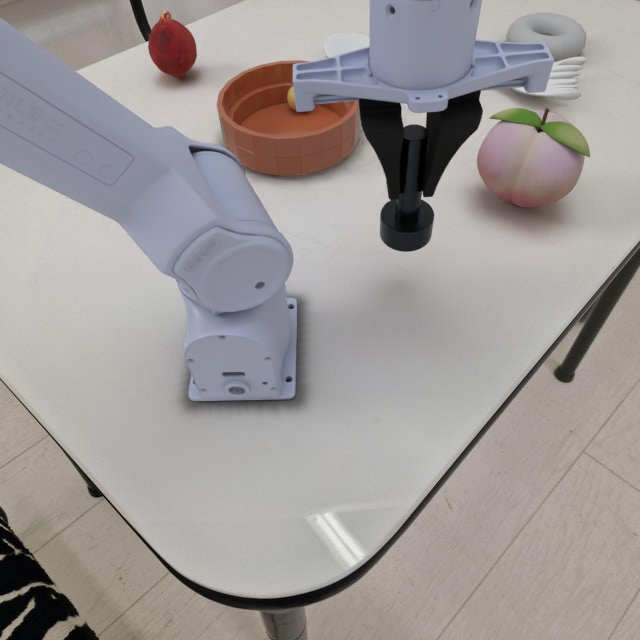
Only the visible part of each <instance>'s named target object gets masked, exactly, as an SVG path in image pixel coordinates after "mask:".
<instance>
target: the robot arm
mask: <svg viewBox="0 0 640 640" xmlns="http://www.w3.org/2000/svg"><path fill="white" fill-rule="evenodd" d="M482 3H483V0H369V35H370V46H368V47H365V48H361V49H357V50H354V51H350V52H347V53H343V54H340V55H336V56H332V57H329V58H328V57H326V58H321V59H317V60H312V61H310V62H306V63H297V64H293V89H294V97H295V105H296V111H297V112H305V111H312V110H313V109H314V108H315V105H314V104H326V103H338V102H350V101H358V102H359V111H360V127H361V129H362V131H363V133H364V136H365V138H366V140H367V142H368V143H369V144H370V146H371V147H372V149H373V151H374V153H375V154H376V156H377V159H378V161H379V163H380V165H381V167H382V168H381V169H382V171H383V174H384V176H385V183H386V191H387V197H388V200H389V201H390V200H396V199H399V196H400V157H401V149H402V143H403V137H404V127H405V126H404V122H403V117H402V109H403V107H402V105H401V104H406V106H407V109H408V110H409V112H411V113H413V114H426V117H425V128H426V129H427V130H428V133H429V134H428V143H427V152H426V160H425V169H424V178H423V187H422V197H423V198H433V197H434V195H435V192H436V190H437V187H438V185H439V182H440V181H441V179H442V176H443V174H444V173H445V171H446V169H447V167H448V165H449V163H450V162H451V161H452V159H453V158H454V156H455V155H456V154H457V152H458V151H459V150H460V148H461V147H462V146H463V145H464V143H466V141H468V139H469V138H470V137H471V136H472V135H473V134H474V133H475V132H477V130H479V127H480V126H481V125H480V124H481V123H482V119H483V114H484V109H483V106H482V104H481V100H480V99H481V93H482V91H493V90H504V89H505V90H507V89H512V88H519V87H524V89H525V91H526V92H528V93H536V92H544V91H545V90H546V87H547V83H548V80H549V77H550V73H551V70H552V66H553V63H554V58H553V56H552V54H551V53H550V51H549V49H548V47H547V46H546V44H545V42H538V43H512V42H506V41H500V40H499V41H498V40H487V39H477V34H478V33H477V32H478V28H479V22H480V16H481V10H482ZM0 165H2V166H4V167H7V168H8V169H10V170H12V171H14V172H16V173H18V174H20V175H22V176H23V177H26V178H28V179H30V180H32V181H34V182H36V183H38V184H40V185H42V186H44V187H46V188H48V189H50V190H52V191H54V192H56V193H58V194H60V195H62V196H64V197H66V198H68V199H71V200H72V201H74V202H77V204H78V203H79V204H80V205H82V206H84V207H86V208H89V209H90V210H92V211H94V212H96V213H98V214H100V215H102V216H104V217H106V218H108V219H110V220H111V221H112V220H113V221H114V222H116V223H117V224H118V225H119V226H120V227H121V228H122V229H123V230H124V232H126V233H127V234H128V236H129V237H130V238H131V240H132V241H133V242H134V243H135V244H136V245H137V247H138V248H139V249H140V250H141V251H142V252H143V253H144V255H145V256H146V257H147V258H148V260H149V261H150V262H151V263H152V264H153V265H154V266H155V267H156V269H157V270H158V271H159V272H160V273H162V274H163V275H165V276H167V277H170V278H172V279H174V280H175V281H176V284H177V287H178V290H179V292H180V295H181V297H182V300H183V301H182V302H183V303H184V309H185V313H186V330H185V338H184V343H183V358H184V362H185V363H186V365H187V369H188V370H189V373H190V381H189V385H188V392H187V395H188V398H189V399H190V401H193V402H213V401H214V402H218V401H221V402H222V401H262V400H263V401H267V400H291V399H293V398H294V397H295V396H296V390H297V389H296V388H297V387H296V385H297V382H296V381H297V380H296V379H297V341H298V340H297V339H298V338H297V337H298V300H297V299H296V298H294V297H287V288H286V282H287V281H288V279H289V277H290V275H291V273H292V270H293V267H294V262H295V260H294V252H293V248H292V246H291V244H290V243H289V241H288V239H287V238H286V237H285V236H284V234H283V233H282V232H280V231H279V229H278V228H277V226H276V225H275V223H274V221H273V219H272V218H271V216H270V214H269V212H268V210H267V209H266V208H265V206H264V204H263V202H262V201H261V199H260V198H259V196H258V194H257V193H256V191H255V189H254V188H253V187H254V186H252V184H251V182H250V181H249V179H248V177H247V176H246V172H245V171H246V170H245V168H244V165H241V163H240V161H239V160H238V158H237V157H236V156H235V155H234V154H233V153H231V152H230V151H229V150H227V148H226V147H223V146H221V145H218V144H215V143H208V142H202V141H198V140H194V139H192V138H190V137H189V136H186V135H184V134H183V133H182V132H180V131H179V130H177V129H176V128H175V127H174V126H171V125H168V126H160V127H159V126H158V127H156V126H155V127H154V126H153V125H151V124H150V123H149V122H147V121H146V120H144V119H143V118H142V117H140V116H139V115H137V114H136V113H134V112H133V111H132V110H130V109H129V108H127V107H126V106H125V105H124V104H122V103H120V102H119V101H118V100H116V99H115V98H113V97H112V96H111V95H109V94H108V93H106V92H105V91H104V90H102V89H101V88H99V87H98V86H97V85H95V84H94V83H92V81H89V80H88V79H87V78H85V76H83V75H81V74H80V73H79V72H77V71H76V70H74V69H73V68H71V66H68V65H67V64H66V63H65V62H63V61H62V60H60V59H59V58H57V57H56V56H55V55H53V54H52V53H51V52H49V51H48V50H46V49H45V48H44V47H42V46H41V45H39V44H38V43H36V42H35V41H34V40H32V39H31V38H29V36H27V35H25V34H24V33H22V32H21V31H20V30H18V29H17V28H16V27H14V26H13V25H11V24H10V23H8V21H6V20H4V19H3V18H2V17H0ZM287 380H291V381H287Z"/></svg>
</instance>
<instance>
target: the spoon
mask: <svg viewBox="0 0 640 640" xmlns="http://www.w3.org/2000/svg"><path fill="white" fill-rule="evenodd" d="M368 46H370V34H365V33H358V32H337V33H334V34H331V35H329V36H328V37H327V38H326V39H325V41H324V43H323V46H322V51H323V54H324V55H325V56H326V58H329V57H332V56H336V55H340V54H343V53H347V52H350V51H354V50H357V49H361V48H365V47H368ZM587 62H588V59H587V57H586V56H577V57H573V58H569V59H564V60H561V61H557V62H554V63H553V66H552V70H551V73H550V77H549V80H548V83H547V87H546V90H545V91H544V92H536V93H528V92H526V91H525V89H524V87H519V88H511V90H513V91H515V92H517V93H520V94H522V95H527V96H533V97H542V98H548V99H555V100H564V101H565V100H566V101H567V100H569V101H571V100H572V101H574V100H578V99H579V98H580V97H582V92H580V90H579V89H578V88H579V86H578V85H575V84H577V83H578V79H576V78H575V77H578V76H580V75H581V72H579V71H581V70H582V69H583V68H584V67H583V65H584V64H586V63H587Z"/></svg>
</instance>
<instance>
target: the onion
mask: <svg viewBox="0 0 640 640" xmlns="http://www.w3.org/2000/svg"><path fill="white" fill-rule="evenodd" d="M147 43H148V44H147V45H148V46H147V48H148V49H147V50H148V55H149V57H150V59H151V61H152V62H153V64H154V65H155V66H156V68H157V69H158V70H159V71H161V72H162V73H163V74H166V75H167V76H170V77H173V78H175V79H179V80H180V79H183V78H184V77H185V76H186V74H188V73H189V71H191V69H192V68H193V66H194V65H195V63H196V61H197V56H198V53H197V51H198V50H197V43H196V40H195V37H194V35H193V34H192V32H191V31H190V30H189V29H188V28H187V27H186V26H185V25H184V24H182V23H181V22H180V21H178V20H176V19H173V18H172V13H171V12H170V11H168V10H166V9H165V10H163V11H161V13H160V16H159V20H158V21H157V22H156V23H155V24H154V26H153V27H152V28H151V30H150V32H149V35H148V42H147Z"/></svg>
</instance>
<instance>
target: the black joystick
mask: <svg viewBox="0 0 640 640" xmlns="http://www.w3.org/2000/svg"><path fill="white" fill-rule="evenodd" d="M403 127H404V137H403V143H402V149H401V157H400V196H399V199H396V200H390V199H389V200H388V201H387V202H386V203H384V205H383V206H382V207H381V209H380V213H379V215H380V216H379V237H380V239H381V241H382V242H383V244H384V245H385V246H387V247H388V248H390V249H392V250H394V251H397V252H403V253H408V252H410V253H411V252H415V251H419V250H421V249H423V248H425V246H427V245H428V244H429V242H430V241H431V239H432V236H433V235H432V234H433V228H434V222H435V211H434V209H433V207H432V206H431V205H430V204H429V202H427V201H426V200H424V199H422V197H423V192H422V187H423V178H424V169H425V160H426V152H427V143H428V134H429V133H428V130H427V129H426V126H424V125H421V124H415V123H413V124H408V125H405V126H403Z"/></svg>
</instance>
